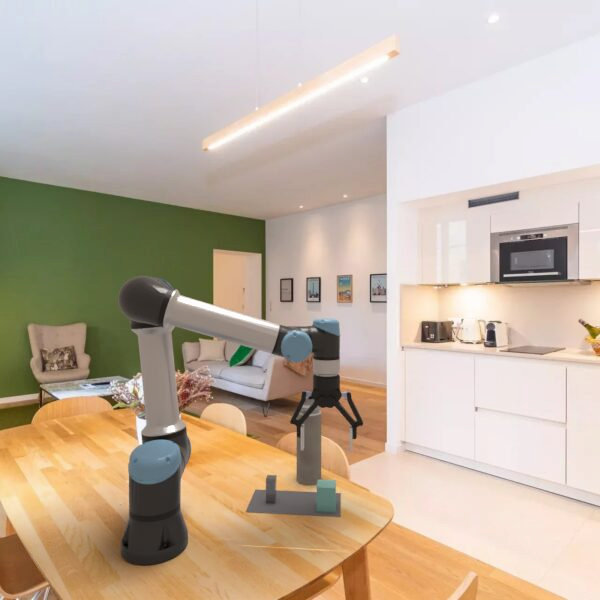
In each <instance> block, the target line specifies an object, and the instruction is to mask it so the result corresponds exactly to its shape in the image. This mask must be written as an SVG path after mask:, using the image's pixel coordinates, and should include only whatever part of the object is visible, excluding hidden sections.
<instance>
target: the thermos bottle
mask: <svg viewBox="0 0 600 600" xmlns="http://www.w3.org/2000/svg"><path fill="white" fill-rule="evenodd" d="M301 397H302V394H301ZM313 402H314V399H313V398H312V396H309V398H308V399H306V400H305V402H304V405H303V407H302V409H301V411H300V412H299V414H298V416H297V418H296V419H297V420H299V419H300V418H301V416H302V415H303V414H304V413H305V412H306V411H307V409H308V408H309V407H310V406H311V405H312V403H313ZM320 408H321V407H319V406H317V408H316V409H315V410H314V411H313V412H312V413H311V414H310V415H309V416H308V418H307V419H306V420H305V421H304V422H303V423H302V424H304V450H301V438H298V437H297V436H296V483H297V484H299V485H302V486H306V487H307V486H311V487H312V486H317V481H318V479H319V480H322V411H321V410H320Z"/></svg>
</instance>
